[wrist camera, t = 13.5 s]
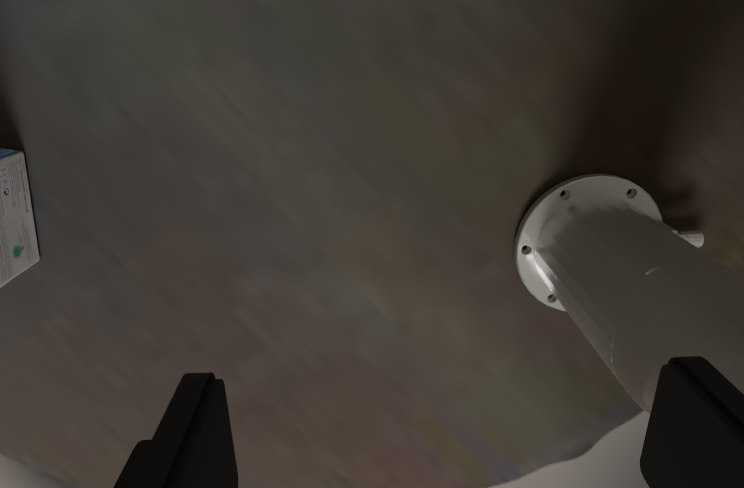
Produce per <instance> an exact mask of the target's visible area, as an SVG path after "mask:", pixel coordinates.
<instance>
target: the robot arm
mask: <svg viewBox="0 0 744 488" xmlns="http://www.w3.org/2000/svg"><path fill="white" fill-rule="evenodd" d="M628 190H629V191H628ZM562 191H564V193H563V194H562V195H560V193H561V192H562ZM627 191H628V192H627ZM703 242H704V237H703V234H702V233H701V232H700V231H682V232H677V231H676V230H675V229H673V228H672V227H670V226H668V225H667V224H665V223H664V222H663V221H662V216H661V213H660V211H659V209H658V206H657V204H656V203H655V202H654V200H653V199H652V197H651V196H650V195H649V194H648V193H647V192H646V191H645V190H643V189H642V188H641V187H640V186H638V185H636V184H635V183H633V182H631V181H629V180H627V179H624V178H622V177H619V176H616V175H610V174H604V173H602V174H586V175H581V176H577V177H573V178H571V179H568V180H566V181H563V182H561V183H559V184H557V185H556V186H554V187H552V188H551V189H549V190H548V191H546V192H545V193H544V194H543V195H542V196H541V197H539V198H538V199H537V200H536V201H535V202H534V204H533V205H532V206H531V207H530V209H529V210H528V211H527V212H526V214H525V216H524V218H523V220H522V221H521V223H520V225H519V228H518V231H517V234H516V238H515V245H514V260H515V265H516V268H517V272H518V274H519V276H520V278H521V280H522V282H523V283H524V285H525V286H526V288H527V289H528V290H529V292H530V293H531V294H532V295H533V296H535V297H536V298H537V299H538V300H539V301H541V302H542V303H544V304H546V305H547V306H550V307H552V308H555V309H558V310H562V311H567V313H568V314H569V315H570V317H571V318H572V319H573V321H574V322H575V323H576V325H577V326H578V327H579V329H580V330H581V331H582V333H583V334H584V335H585V337H586V338H587V339H588V341H589V342H590V343H591V345H592V346H593V347H594V349H595V350H596V351H597V353H598V354H599V355H600V357H601V358H602V359H603V361H604V362H605V363H606V365H607V366H608V367H609V369H610V370H611V371H612V373H613V374H614V375H615V377H616V378H617V379H618V381H619V382H620V383H621V385H622V386H623V387H624V388H625V390H626V391H627V392H628V394H629V395H630V396H631V397H632V398H633V399H634V401H635V402H636V403H637V404H638V405H639V406H640V407H641V408H643V409H644V410H645V411H646V412H648V413H649V414H650V418H649V423H648V427H647V431H646V436H645V440H644V445H643V449H642V454H641V458H640V468H641V472H642V475H643V477H644V479H645V480H646V482H647V484H648V485H649V487H650V488H744V277H742V276H741V275H739V274H738V273H736V272H735V271H733V270H732V269H730V268H728V267H727V266H725V265H724V264H722V263H721V262H719V261H717V260H716V259H714V258H713V257H711V256H710V255H708V254H707V253H705V252H703V251H702V250H700V249H699V248H698V247H701V246H702V245H703ZM525 245H526V247H525V248H522V247H523V246H525ZM549 295H550V296H549ZM114 488H238V472H237V466H236V459H235V452H234V446H233V439H232V432H231V426H230V419H229V412H228V406H227V399H226V392H225V385H224V382H223V380H222V379H215V376H214V374H213V373H186V374H184V376H183V377H182V379H181V381H180V383H179V385H178V387H177V389H176V391H175V393H174V395H173V397H172V399H171V401H170V403H169V405H168V407H167V410H166V412H165V414H164V416H163V418H162V420H161V422H160V424H159V426H158V428H157V430H156V432H155V434H154V436H153V438H152V440H141V441H140V442H138V443H137V445H136V446H135V448H134V449H133V451H132V453H131V455H130V457H129V459H128V461H127V463H126V465H125V466H124V468H123V470H122V472H121V474H120V476H119V478H118V480H117V482H116V484H115V486H114Z"/></svg>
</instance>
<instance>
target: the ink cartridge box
mask: <svg viewBox="0 0 744 488" xmlns="http://www.w3.org/2000/svg"><path fill="white" fill-rule="evenodd" d="M39 259H40V257H39V252H38V245H37V238H36V232H35V225H34V218H33V211H32V205H31V198H30V192H29V185H28V178H27V172H26V166H25V159H24V153H23V152H22V151H18V150H11V149H4V148H0V287H2V286H3V285H4V284H6V283H7V282H9V281H10V280H12V279H13V278H15V277H16V276H17V275H19V274H20V273H22V272H23V271H25V270H26V269H28V268H29V267H30V266H32V265H33V264H35V263H36V262H38V261H39Z"/></svg>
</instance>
